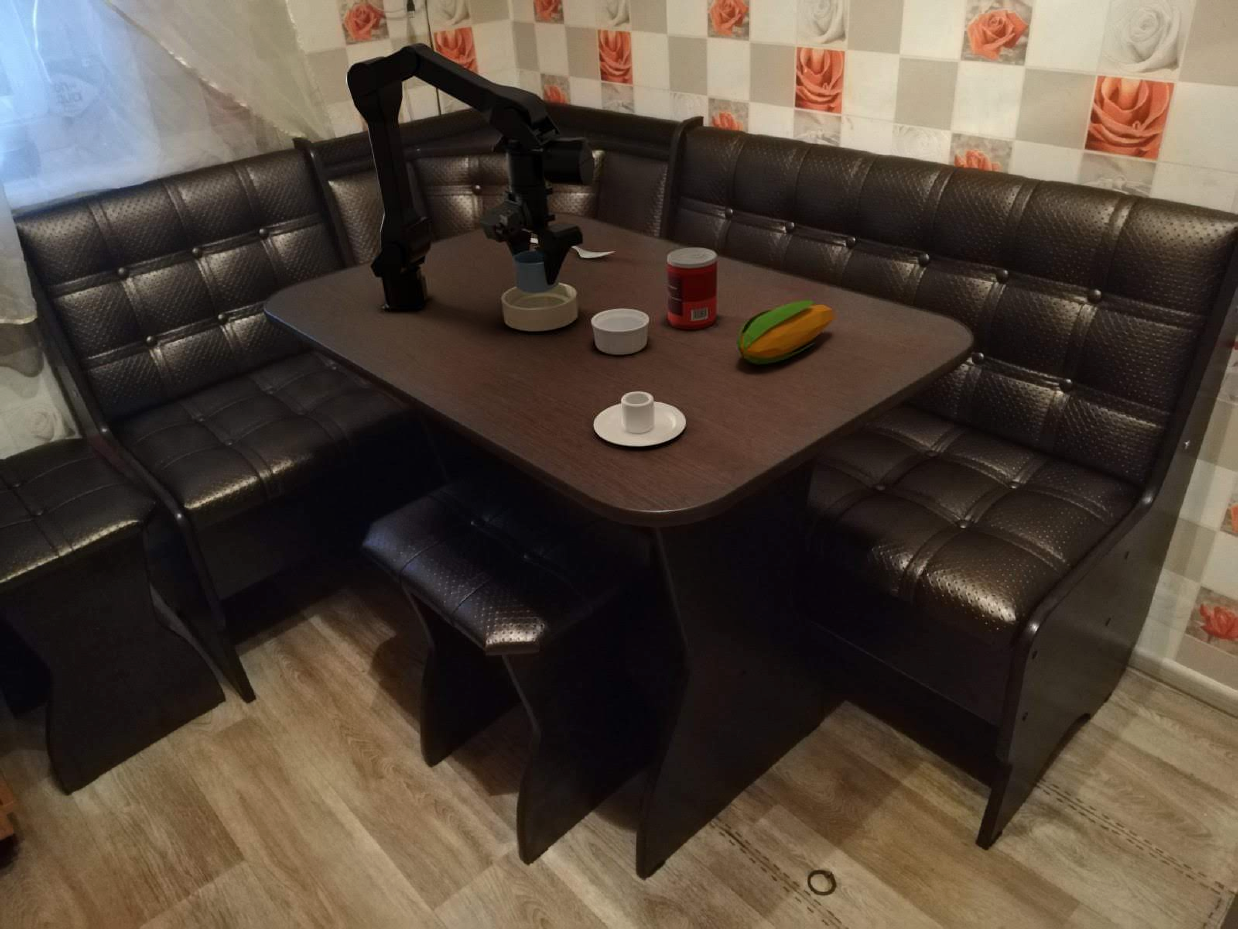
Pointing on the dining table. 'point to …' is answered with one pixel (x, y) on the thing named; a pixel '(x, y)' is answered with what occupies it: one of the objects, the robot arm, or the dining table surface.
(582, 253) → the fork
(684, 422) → the candle holder
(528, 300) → the cream bowl
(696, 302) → the canned food
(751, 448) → the dining table surface
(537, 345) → the dining table surface
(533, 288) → the slate bowl
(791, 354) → the corn
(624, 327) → the ramekin
